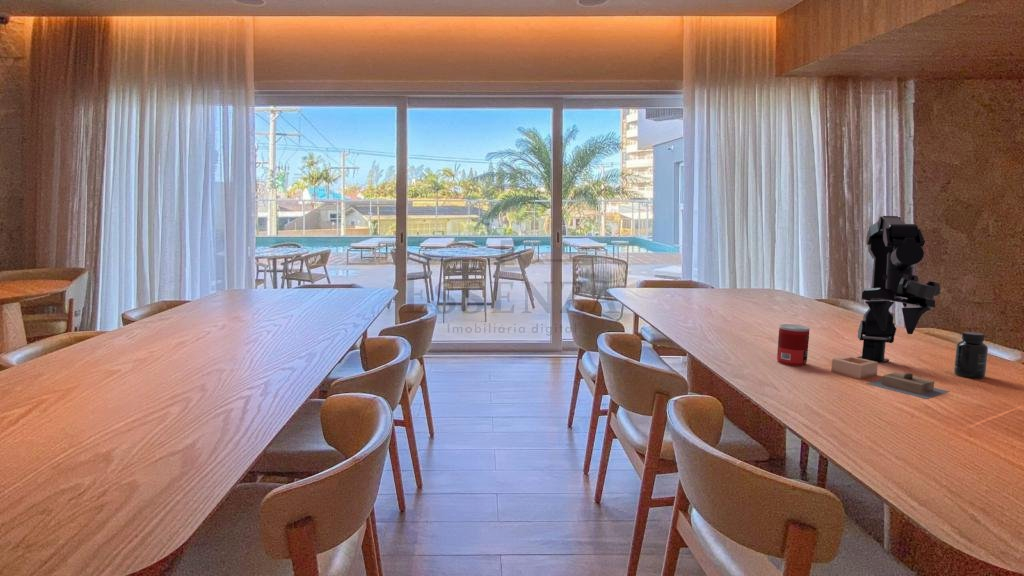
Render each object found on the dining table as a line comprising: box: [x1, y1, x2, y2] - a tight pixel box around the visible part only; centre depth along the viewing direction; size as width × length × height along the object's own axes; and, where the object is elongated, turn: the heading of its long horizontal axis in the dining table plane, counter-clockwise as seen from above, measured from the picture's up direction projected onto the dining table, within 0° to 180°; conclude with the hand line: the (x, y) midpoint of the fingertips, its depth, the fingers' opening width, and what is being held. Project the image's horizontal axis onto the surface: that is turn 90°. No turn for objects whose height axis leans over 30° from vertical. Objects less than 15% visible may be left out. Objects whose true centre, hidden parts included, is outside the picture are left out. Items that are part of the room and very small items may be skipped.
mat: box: [865, 378, 951, 400], centre depth 147 cm, size 12×14×1 cm
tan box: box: [830, 355, 879, 380], centre depth 159 cm, size 8×8×4 cm
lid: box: [881, 371, 935, 394], centre depth 147 cm, size 6×9×4 cm
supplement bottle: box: [953, 331, 989, 379], centre depth 159 cm, size 7×7×12 cm
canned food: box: [776, 323, 810, 367], centre depth 170 cm, size 8×8×11 cm
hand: (896, 332), depth 147 cm, fingers open, 9 cm apart
